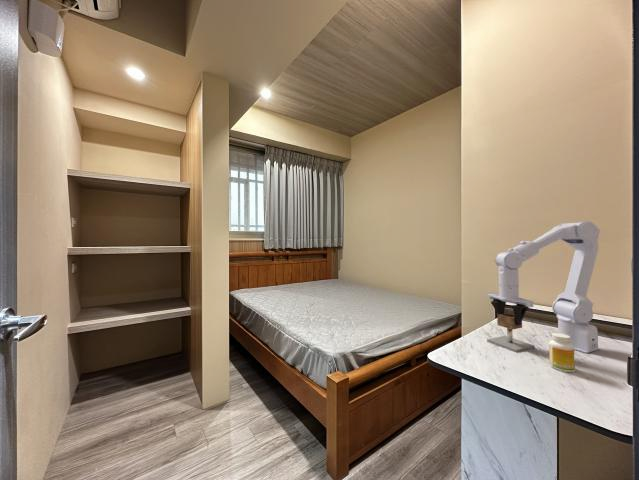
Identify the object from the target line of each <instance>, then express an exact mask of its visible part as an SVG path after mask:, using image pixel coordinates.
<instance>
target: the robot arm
mask: <svg viewBox="0 0 639 480" xmlns="http://www.w3.org/2000/svg"><path fill="white" fill-rule="evenodd" d="M600 234H601V230H600V228H598V226H597V225H596V224H595V223H594V222H592V221H588V220H587V221H579V222H569V223H568V222H564V223H563V222H562V223H560V224H558V225H556V226H554V227H552V229H550V230H548V231H547V232H546V233H545V232H544V234H542V235H540V236H539V237H537V238H536V239H534V240H532V241H530V240H525V241H524V240H522V241H520V242H519V244H518V245H516V246H514V247H513V248H512V247H511V248H508V249H507V251H506V252H504V251H502V252H500V253H498V254H497V255H496V258H495V259H494V262H495V265H497V270H498V291H499V293H498V294H497V293H487V299H488V300H492V301H490V303H491V305H492V307H493V308H494V310H495V313H496V315H497V314H502V313H506V312H505V309H506V304H507V303H509V304H513V305H511V308H512V310H513V314H514V315H515V325H517V326H518V325H521V323H522V324H523V319H524V317H525V314H526V313H527V311H528V310H529V309H530V308H534V301H533V300H529V299H525V298H522V297H520V288H519V282H520V281H519V268H521V267H522V265H523V263H524V262H525V261H528V260H530V259H532V258H533V257H535V256H537V255H539V253H540V250H542V249H543V248H545V247H547V246H549V245H551V244H553V243H555V242H557V241H559V240H561V241H563V242H564V243H566V244H568V245H570V246H571V247H572V248H573V249H574V254H573V258H572V261H571V265H570V270H569V273H568V278H567V281H566V285H565V289H564V291H563V292H561V293H559V294H558V295H557V296H556V297H557V298H556V299H555V300H554V301H553V302H552V304H551V309H552V312H553V313H554V314H555V315H556V318H557V321H558V322H557V326H558V327H557V331H558V332H557V333H560V334H565V335H568V336H570V338H571V342H570V343H571V344H572V345H573V346H574V351H578V352H582V353H585V354H588V353H592V352H595V351H598V350H600V347H599V331H598V328H597V327H596V326H595V325H593V324H590V323H589V322H591V321H592V319H593V318H594V312H593V304H594V303H593V302H592V301H591V300H590V299H589V298H588V297H587V294H588V291H589V286H590V282H591V279H592V276H593V272H594V267H595V264H596V260H597V256H598V252H599V235H600Z"/></svg>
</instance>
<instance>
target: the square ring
mask: <svg viewBox="0 0 639 480" xmlns="http://www.w3.org/2000/svg"><path fill="white" fill-rule="evenodd" d="M496 315H497V317H496V318H497V326H499V327H502V328H505V329H507V328H509V329H512V330H518V329H522V328H523V322H522V323H521V325H518V326H517V325H515V315H514V313H510V312H505V313H502V314H497V313H496Z"/></svg>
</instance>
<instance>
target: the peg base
mask: <svg viewBox="0 0 639 480" xmlns="http://www.w3.org/2000/svg"><path fill="white" fill-rule="evenodd" d="M513 330H514V329H513ZM513 330H512V329H509V328H506V335H501V336H498V337H497V336H496V337H493V338H488V339H486V342H487V343H490V344H492V345H495V346H499V347H501V348H503V349H506V350H509V351H511V352H514V353H518V352H523V351H526V350H530V349H534V348H535V347H536V346H535V344H531V343H529V342H526V341H522V340H520V339H517V338H514V337H513V335H514V333H513Z"/></svg>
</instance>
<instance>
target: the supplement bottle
mask: <svg viewBox="0 0 639 480" xmlns="http://www.w3.org/2000/svg"><path fill="white" fill-rule="evenodd" d="M551 338H552V339H551V340H550V341H549V342H548V351H549V352H548V353H549V354H548V355H549V357H548V361H549V366H550V367H551V368H553V369H555V370H557V371H560V372H564V373H573V372H575V371H576V367H575V349H574V346H573V345H572V344H571V343H570V342H571V338H570V336H568V335H565V334H560V333H558V332H553V333H551Z"/></svg>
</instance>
